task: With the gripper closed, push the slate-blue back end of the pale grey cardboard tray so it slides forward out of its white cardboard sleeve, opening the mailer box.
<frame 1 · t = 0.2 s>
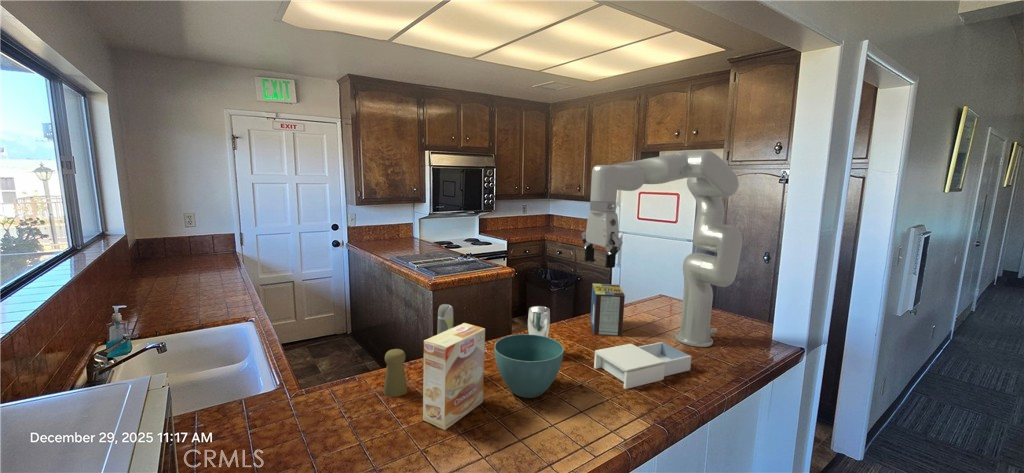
hand: (599, 264, 129), 31 cm above the countertop, tool pointing down, fingers open, 9 cm apart
plant pot: (527, 390, 114), on the countertop
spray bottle: (445, 373, 123), on the countertop
coffeecake box: (454, 411, 103), on the countertop
tray: (646, 361, 129), point 2 cm above the countertop, slide at 0.0 cm
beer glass: (537, 354, 137), on the countertop
sleeve: (627, 373, 126), on the countertop
olive green pepper shaker: (395, 391, 112), on the countertop
protein box: (605, 328, 163), on the countertop
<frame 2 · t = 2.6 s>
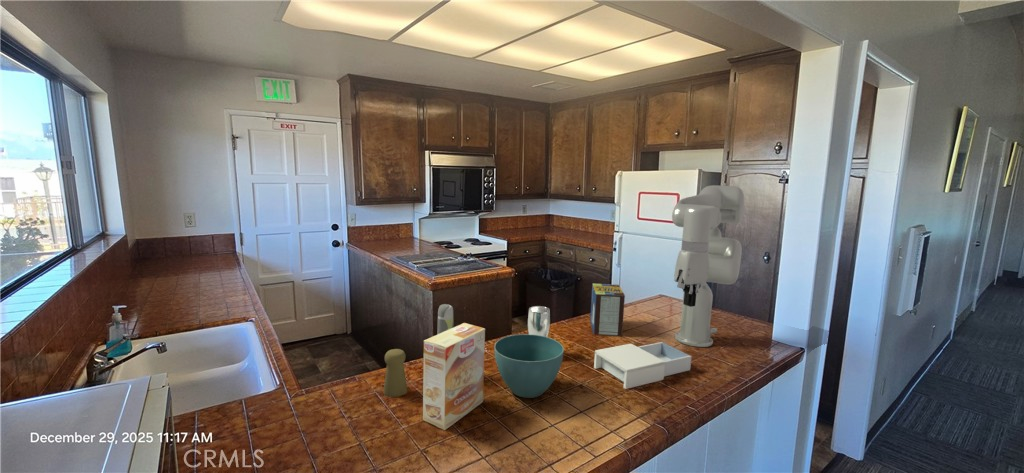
hand: (689, 305, 133), 18 cm above the countertop, tool pointing down, fingers closed
nothing on the countertop moved.
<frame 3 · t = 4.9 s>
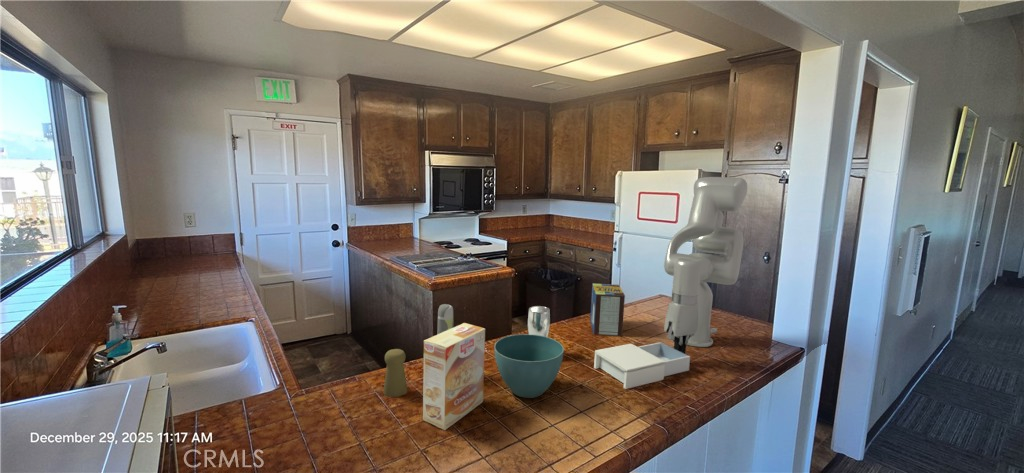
hand: (679, 355, 135), 2 cm above the countertop, tool pointing down, fingers closed
tray: (645, 362, 128), point 2 cm above the countertop, slide at 0.6 cm, touching gripper
everything else where it was.
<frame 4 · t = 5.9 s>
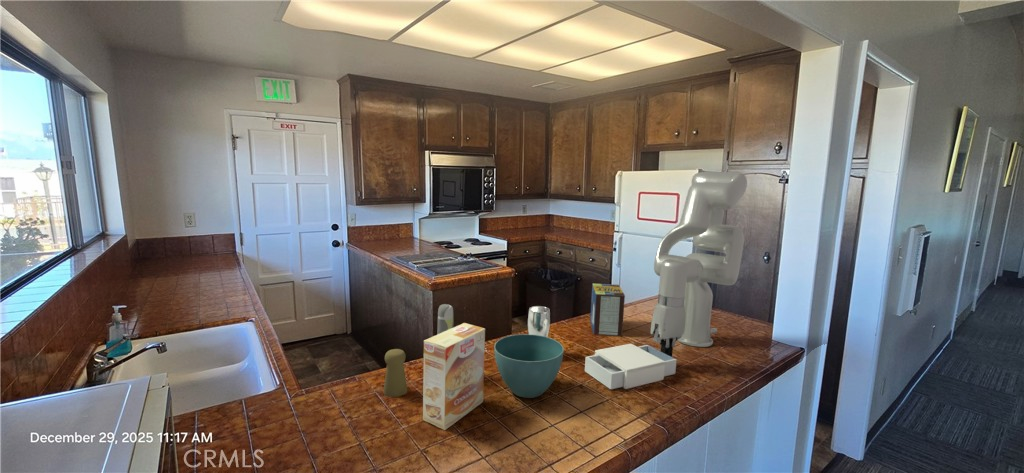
hand: (665, 358, 132), 2 cm above the countertop, tool pointing down, fingers closed
tray: (630, 365, 126), point 2 cm above the countertop, slide at 6.2 cm, touching gripper
everything else where it was.
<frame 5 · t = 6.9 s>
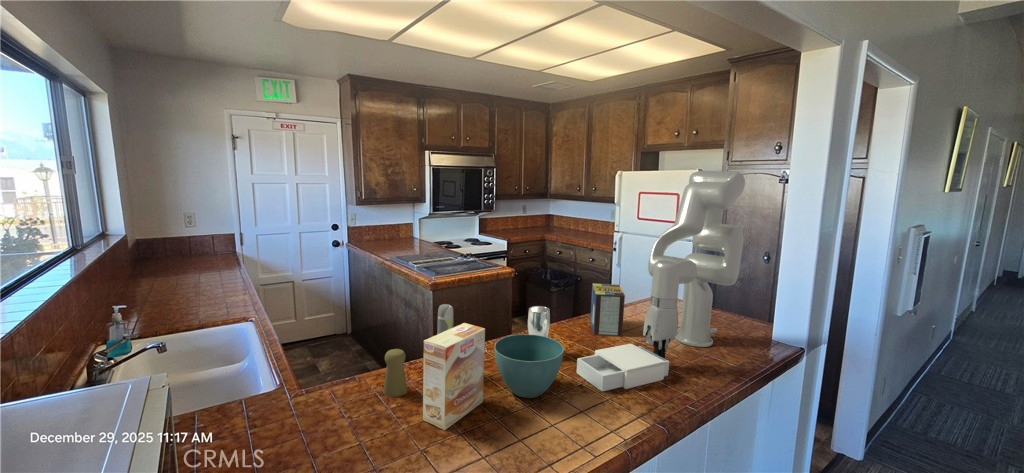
hand: (658, 360, 131), 2 cm above the countertop, tool pointing down, fingers closed
tray: (622, 367, 125), point 2 cm above the countertop, slide at 9.1 cm, touching gripper
everything else where it was.
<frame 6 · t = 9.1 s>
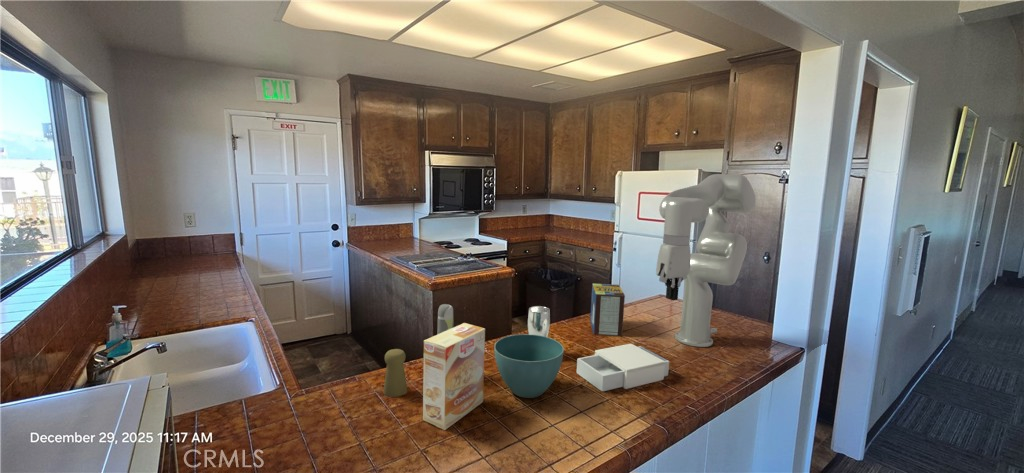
hand: (671, 298, 132), 20 cm above the countertop, tool pointing down, fingers closed
tray: (622, 367, 125), point 2 cm above the countertop, slide at 9.1 cm
everything else where it was.
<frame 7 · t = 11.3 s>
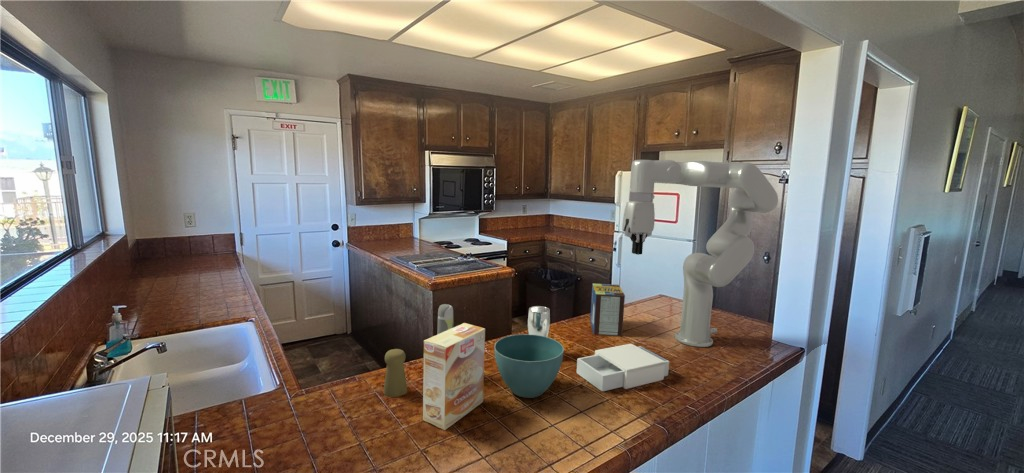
hand: (636, 253, 142), 32 cm above the countertop, tool pointing down, fingers closed
nothing on the countertop moved.
at the end: tray slide at 9.1 cm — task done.
